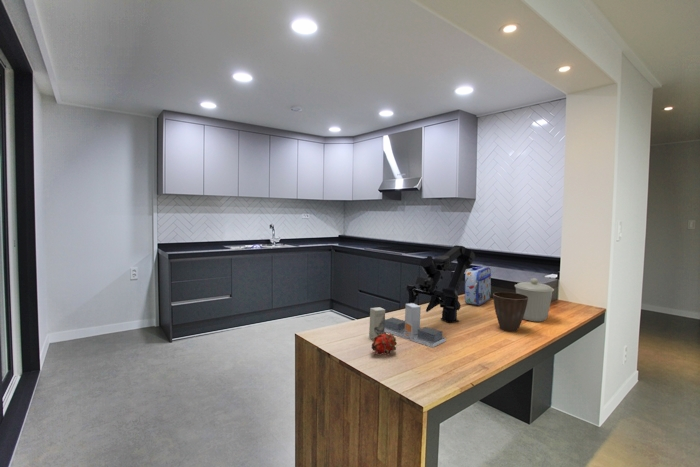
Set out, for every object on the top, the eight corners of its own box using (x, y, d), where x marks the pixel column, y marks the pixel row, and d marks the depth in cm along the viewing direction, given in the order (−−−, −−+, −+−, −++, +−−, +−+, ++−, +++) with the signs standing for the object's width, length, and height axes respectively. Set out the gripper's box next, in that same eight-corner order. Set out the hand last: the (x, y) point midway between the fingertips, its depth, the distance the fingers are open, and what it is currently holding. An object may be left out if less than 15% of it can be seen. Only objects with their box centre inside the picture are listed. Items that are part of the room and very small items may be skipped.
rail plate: (393, 325, 168) (394, 316, 168) (445, 341, 149) (446, 330, 149) (380, 330, 161) (380, 320, 161) (432, 347, 142) (433, 336, 142)
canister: (543, 326, 171) (546, 283, 170) (506, 317, 185) (508, 277, 184) (557, 319, 183) (560, 279, 182) (521, 311, 197) (523, 273, 196)
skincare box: (404, 330, 157) (405, 303, 156) (412, 329, 159) (413, 302, 158) (411, 335, 152) (412, 307, 151) (420, 334, 153) (421, 306, 152)
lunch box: (479, 308, 201) (481, 269, 200) (461, 305, 207) (463, 267, 206) (492, 299, 224) (493, 264, 222) (475, 296, 230) (476, 262, 228)
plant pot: (484, 326, 170) (486, 293, 169) (505, 322, 177) (506, 290, 176) (512, 336, 157) (514, 300, 156) (533, 331, 164) (535, 297, 163)
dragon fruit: (397, 354, 139) (374, 366, 131) (383, 336, 143) (361, 347, 136) (405, 341, 134) (382, 353, 126) (391, 323, 138) (368, 334, 131)
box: (374, 341, 147) (374, 310, 147) (368, 337, 151) (369, 307, 150) (384, 339, 150) (385, 309, 149) (379, 336, 154) (380, 306, 153)
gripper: (408, 267, 166) (392, 294, 159) (443, 273, 153) (429, 303, 146) (417, 281, 172) (403, 308, 165) (452, 288, 159) (438, 317, 152)
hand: (417, 309), depth 157 cm, fingers open, 9 cm apart
